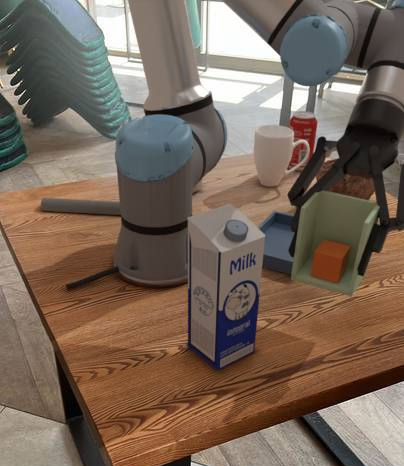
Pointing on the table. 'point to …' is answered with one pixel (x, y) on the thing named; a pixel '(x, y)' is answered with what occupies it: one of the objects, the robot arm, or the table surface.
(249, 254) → the milk carton
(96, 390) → the table surface
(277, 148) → the mug
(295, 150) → the beverage can
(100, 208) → the half round rod
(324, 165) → the decorative rock
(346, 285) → the box
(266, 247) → the tray
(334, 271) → the block
